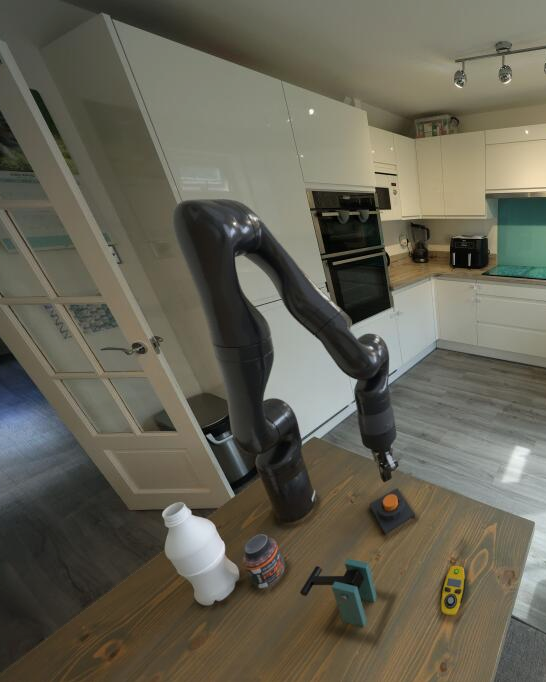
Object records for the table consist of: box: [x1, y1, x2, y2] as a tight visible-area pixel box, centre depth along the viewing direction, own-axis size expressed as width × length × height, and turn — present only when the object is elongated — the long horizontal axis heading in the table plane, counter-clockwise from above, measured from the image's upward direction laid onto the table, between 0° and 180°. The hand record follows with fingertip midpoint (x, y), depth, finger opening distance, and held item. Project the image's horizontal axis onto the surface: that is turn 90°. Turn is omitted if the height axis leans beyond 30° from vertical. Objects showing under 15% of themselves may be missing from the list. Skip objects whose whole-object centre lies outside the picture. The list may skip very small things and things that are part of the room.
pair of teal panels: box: [331, 558, 378, 628], centre depth 59 cm, size 10×7×13 cm
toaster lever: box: [299, 565, 364, 597], centre depth 59 cm, size 12×4×2 cm, turn 79°
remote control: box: [440, 565, 466, 616], centre depth 67 cm, size 5×2×15 cm
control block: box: [368, 487, 416, 536], centre depth 80 cm, size 10×8×4 cm
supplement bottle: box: [242, 533, 286, 589], centre depth 65 cm, size 6×6×11 cm
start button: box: [383, 494, 398, 511], centre depth 79 cm, size 4×4×2 cm
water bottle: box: [161, 501, 240, 606], centre depth 60 cm, size 7×7×25 cm
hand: (386, 478), depth 76 cm, fingers closed
